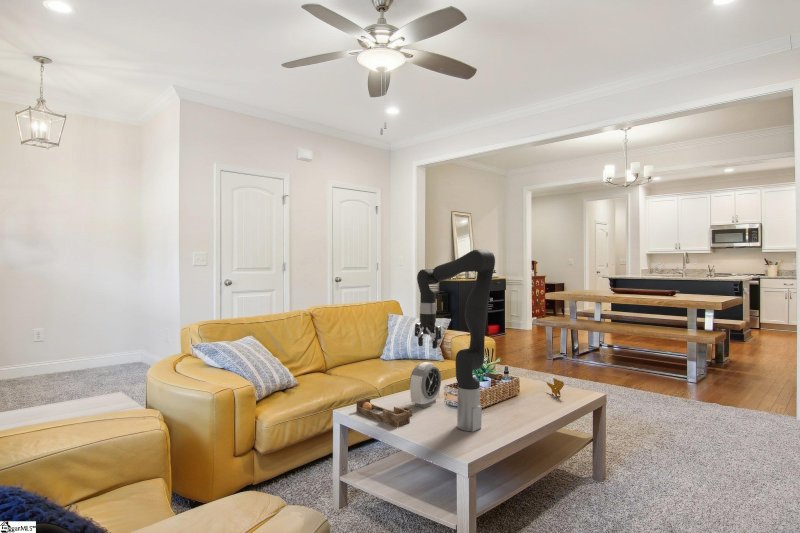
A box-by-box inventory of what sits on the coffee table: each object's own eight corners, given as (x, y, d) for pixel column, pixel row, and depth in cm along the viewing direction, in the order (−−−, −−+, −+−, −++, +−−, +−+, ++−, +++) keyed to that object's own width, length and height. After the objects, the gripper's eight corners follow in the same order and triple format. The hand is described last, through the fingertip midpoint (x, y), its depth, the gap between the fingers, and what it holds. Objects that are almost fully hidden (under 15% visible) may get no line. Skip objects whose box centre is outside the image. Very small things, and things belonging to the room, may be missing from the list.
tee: (412, 415, 202) (412, 409, 202) (405, 418, 199) (405, 411, 199) (405, 413, 204) (405, 407, 204) (399, 415, 202) (399, 409, 202)
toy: (564, 394, 225) (559, 374, 230) (547, 399, 239) (543, 380, 243) (568, 394, 226) (563, 374, 230) (552, 399, 240) (547, 380, 244)
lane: (409, 423, 193) (409, 411, 192) (397, 427, 187) (397, 415, 187) (368, 408, 212) (368, 397, 212) (356, 411, 206) (356, 401, 206)
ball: (366, 402, 210) (368, 412, 209) (359, 404, 207) (361, 414, 205) (372, 400, 207) (374, 409, 206) (365, 402, 204) (367, 411, 203)
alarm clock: (422, 410, 209) (422, 367, 209) (407, 406, 214) (407, 364, 214) (442, 401, 223) (442, 360, 223) (428, 397, 228) (428, 358, 228)
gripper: (444, 313, 204) (444, 348, 205) (421, 310, 214) (421, 344, 215) (434, 314, 199) (433, 350, 199) (411, 311, 209) (410, 346, 209)
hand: (427, 347), depth 207 cm, fingers open, 8 cm apart
